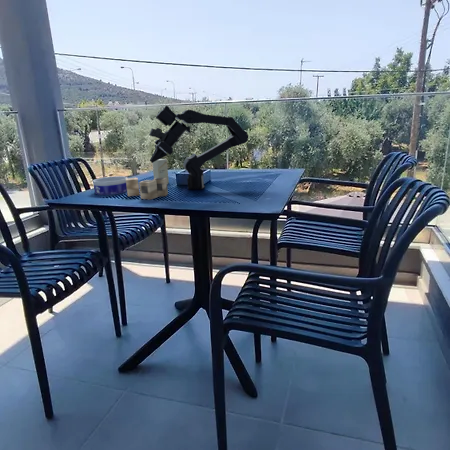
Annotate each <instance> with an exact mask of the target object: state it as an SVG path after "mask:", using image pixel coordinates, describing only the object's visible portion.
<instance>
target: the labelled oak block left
mask: <svg viewBox="0 0 450 450" xmlns="http://www.w3.org/2000/svg"><path fill="white" fill-rule="evenodd" d="M152 180H156V182H157V192H158V197H166V196H168V194H169V191H168V184H167V178H155V179H154V178H153V179H152Z"/></svg>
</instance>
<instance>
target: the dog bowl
mask: <svg viewBox="0 0 450 450" xmlns="http://www.w3.org/2000/svg"><path fill="white" fill-rule="evenodd" d="M126 178H128V177H127V176H122V175H121V176H120V175H119V176H118V175H115V176H105V177H100V178H95V179H93V180H92V183H93V189H94V194H95V195H100V196H107V195H109V196H110V195H117V194H122V193H123V194H124V193H127V186H126Z"/></svg>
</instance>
